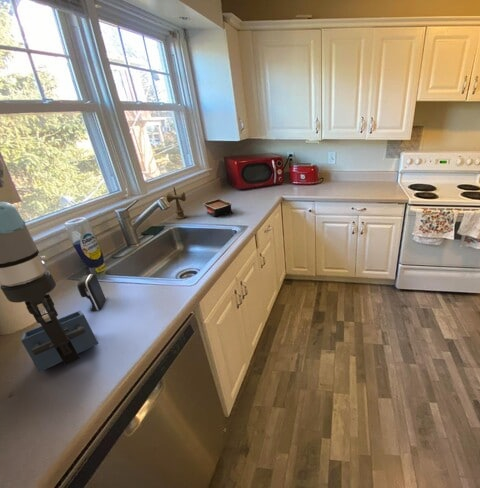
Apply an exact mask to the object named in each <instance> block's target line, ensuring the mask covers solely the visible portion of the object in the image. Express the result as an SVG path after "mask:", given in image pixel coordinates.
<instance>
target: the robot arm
mask: <svg viewBox="0 0 480 488" xmlns="http://www.w3.org/2000/svg"><path fill="white" fill-rule="evenodd" d="M47 259H48V257H47V256H46V255H41V253H40V250H39V249H38V247H37V245H36V243H35V240H34V239H33V237H32V235H31V232H30V231H29V229H28V227H27V225H26V221H25V219H23V217H22V216H21V214H20V212H19V211H18V210H17V208H16V206H15V205H14V204H12V203H10V202H7V201H0V290H1V292H2V293H3V295H4V296H5V298H6V299H7V301H9V302H11V303H24V304H25V307H26V310H27V311H28V313H29V314H30V315H32V316H33V318H34V320H35V322H36V323H37V324H40V326H42V327H43V328H44V330H45V332H46V333H47V335H48V337H49V338H50V340H51V342H52V343H53V344H51V345H49V346H50V348H53V347H55V348H56V350H57V352H58V353H59V355H60V357H61V359H62V360H63V361H62V362H63V364H64V365H65V367H67V366H69V365H70V364H73V363H75V362H76V361H79V360H80V359H81V358H80V356H79V353H78V354H77V352H76V350H75V348H74V346H73V345H72V343H71V341H70V340H69V338H68V337H67V336H66V333H64V332H66V331H69V330H68V328H67V327H66V328H64V329H63V328H62V324H60V322H59V321H58V319H59V318H58V316H59V313H58V312H57V310H56V307H55V303H54V301H53V299H52V297H51V295H50V294H49V293H51V292H52V291H53V290H54V289H55V288H56V286H57V284H56V281H55V279H54V277H53V275H52V273H51V272H50V271H49V270H48V266H47V264H46V262H45V261H46V260H47Z"/></svg>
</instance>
